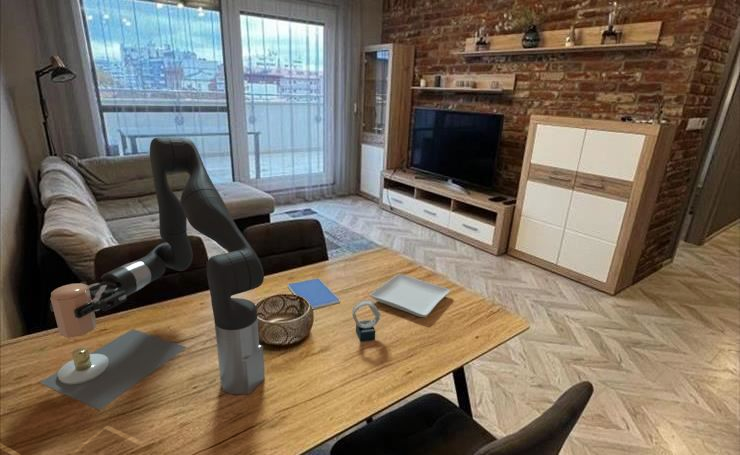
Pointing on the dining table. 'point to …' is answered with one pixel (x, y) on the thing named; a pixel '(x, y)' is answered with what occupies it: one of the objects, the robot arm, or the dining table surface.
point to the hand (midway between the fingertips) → (63, 311)
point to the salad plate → (410, 295)
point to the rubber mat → (120, 368)
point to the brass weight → (81, 359)
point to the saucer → (74, 377)
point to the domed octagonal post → (72, 310)
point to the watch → (366, 322)
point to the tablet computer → (314, 293)
